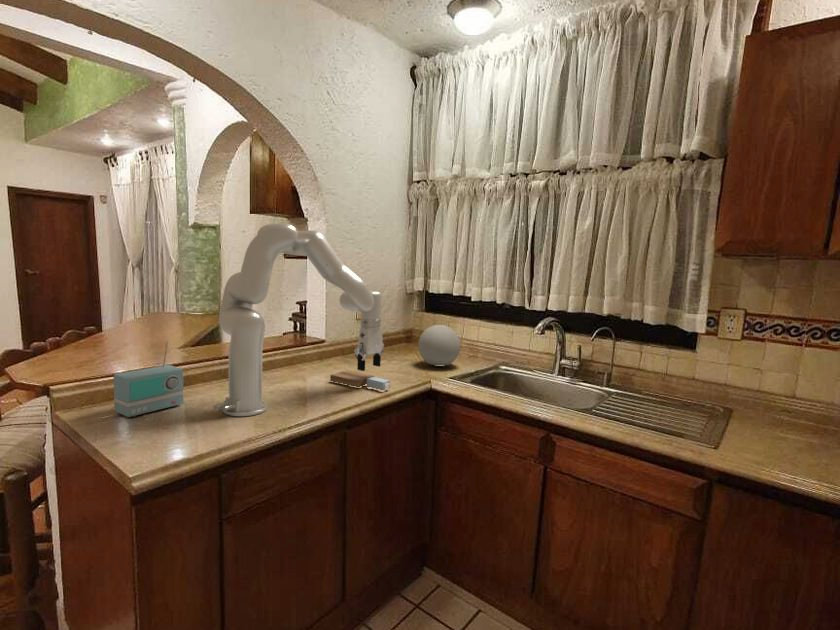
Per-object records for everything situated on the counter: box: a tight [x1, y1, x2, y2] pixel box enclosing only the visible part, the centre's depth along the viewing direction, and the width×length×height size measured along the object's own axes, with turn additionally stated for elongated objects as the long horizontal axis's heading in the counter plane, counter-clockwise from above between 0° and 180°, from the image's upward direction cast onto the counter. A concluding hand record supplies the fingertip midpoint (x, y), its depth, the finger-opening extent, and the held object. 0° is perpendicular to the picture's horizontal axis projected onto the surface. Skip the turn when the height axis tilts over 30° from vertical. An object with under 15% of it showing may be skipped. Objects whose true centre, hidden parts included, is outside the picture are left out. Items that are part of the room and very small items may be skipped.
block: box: [366, 376, 391, 390], centre depth 160 cm, size 4×4×8 cm
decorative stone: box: [418, 324, 461, 366], centre depth 202 cm, size 20×20×20 cm
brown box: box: [329, 369, 376, 387], centre depth 167 cm, size 10×14×3 cm
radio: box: [113, 340, 184, 418], centre depth 126 cm, size 16×9×20 cm, turn 149°
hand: (369, 368), depth 163 cm, fingers open, 9 cm apart
